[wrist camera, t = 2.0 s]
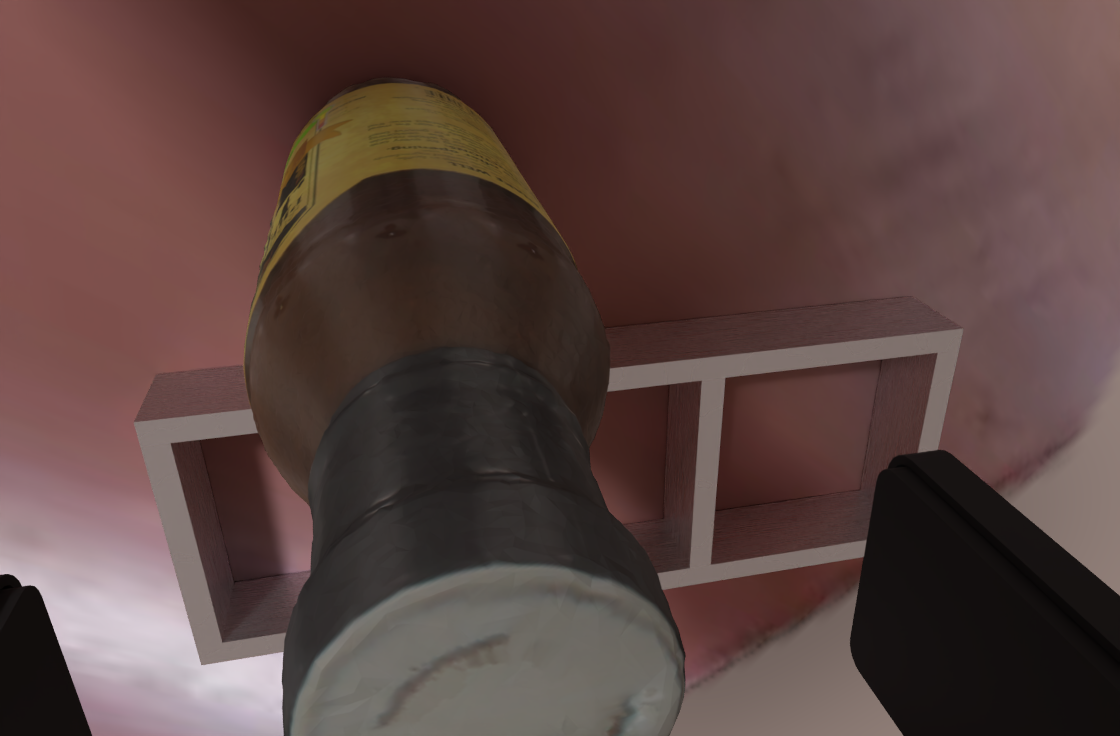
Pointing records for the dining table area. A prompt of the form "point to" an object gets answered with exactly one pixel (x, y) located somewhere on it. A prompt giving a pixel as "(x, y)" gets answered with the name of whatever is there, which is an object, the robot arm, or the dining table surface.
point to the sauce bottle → (445, 443)
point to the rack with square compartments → (635, 362)
